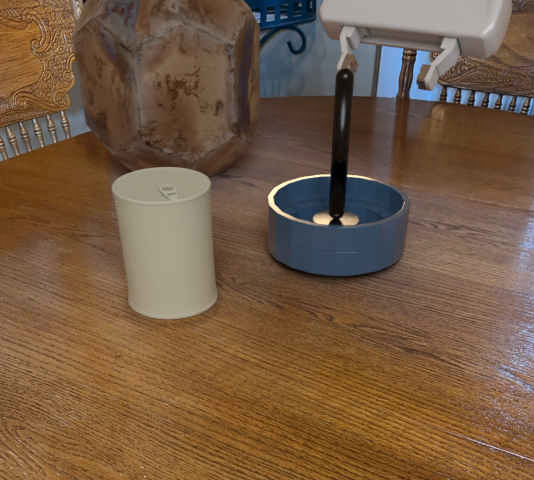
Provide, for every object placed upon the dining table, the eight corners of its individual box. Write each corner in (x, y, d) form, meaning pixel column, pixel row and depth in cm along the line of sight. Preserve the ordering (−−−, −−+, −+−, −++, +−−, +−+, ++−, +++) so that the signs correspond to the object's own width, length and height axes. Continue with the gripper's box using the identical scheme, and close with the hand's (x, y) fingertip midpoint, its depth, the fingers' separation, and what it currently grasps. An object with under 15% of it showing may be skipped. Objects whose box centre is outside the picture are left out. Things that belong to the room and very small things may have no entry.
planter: (274, 148, 108) (274, -44, 92) (229, 206, 90) (220, -18, 74) (139, 137, 112) (118, -48, 96) (71, 191, 94) (31, -24, 78)
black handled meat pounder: (353, 234, 82) (367, 61, 70) (360, 254, 78) (376, 73, 66) (309, 235, 81) (316, 62, 69) (313, 255, 78) (321, 74, 66)
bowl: (389, 223, 86) (395, 172, 82) (415, 280, 75) (423, 225, 71) (264, 226, 86) (264, 175, 81) (271, 284, 74) (271, 229, 70)
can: (142, 328, 67) (125, 203, 59) (117, 287, 74) (98, 169, 66) (231, 308, 70) (226, 187, 62) (200, 270, 77) (191, 156, 68)
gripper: (340, -73, 75) (289, 49, 75) (528, -65, 66) (468, 73, 67) (358, -27, 80) (310, 86, 81) (532, -14, 72) (477, 113, 72)
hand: (382, 80), depth 74 cm, fingers open, 8 cm apart
